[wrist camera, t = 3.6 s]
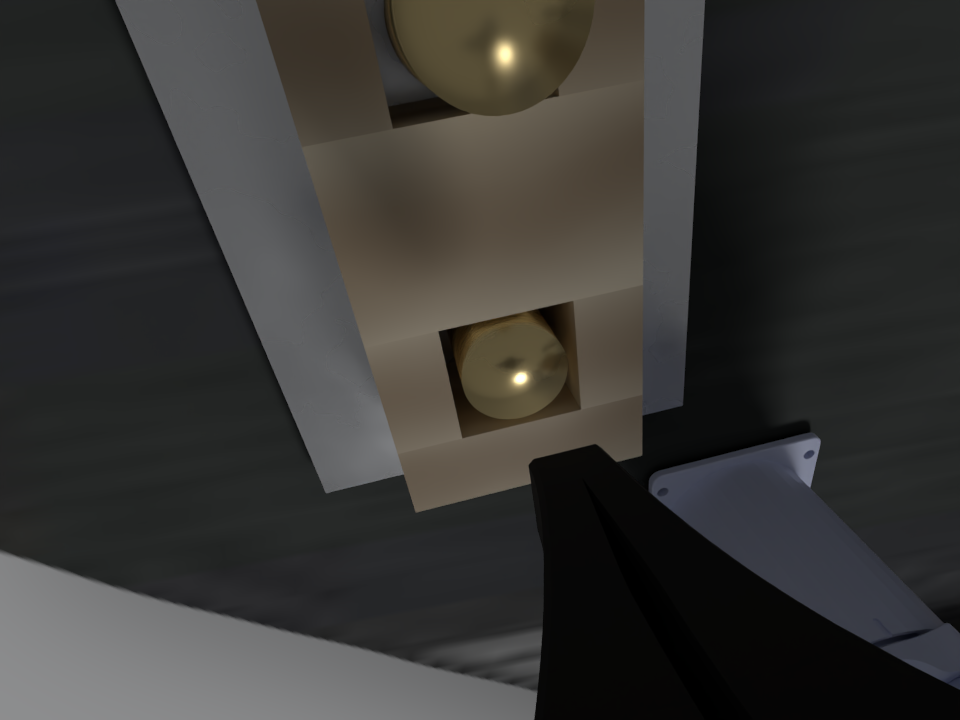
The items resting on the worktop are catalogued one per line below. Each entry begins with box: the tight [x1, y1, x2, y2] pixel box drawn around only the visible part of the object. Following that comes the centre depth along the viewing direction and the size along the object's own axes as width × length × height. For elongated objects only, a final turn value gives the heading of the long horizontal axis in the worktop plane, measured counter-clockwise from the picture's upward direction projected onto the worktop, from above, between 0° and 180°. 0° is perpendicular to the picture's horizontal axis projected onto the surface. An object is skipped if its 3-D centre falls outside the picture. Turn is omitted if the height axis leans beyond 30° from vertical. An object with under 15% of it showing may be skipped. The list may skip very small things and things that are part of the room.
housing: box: [256, 0, 645, 512], centre depth 14 cm, size 16×7×4 cm, turn 9°
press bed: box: [115, 0, 705, 493], centre depth 16 cm, size 20×14×1 cm
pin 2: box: [446, 309, 568, 419], centre depth 16 cm, size 3×3×4 cm
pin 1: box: [384, 0, 595, 116], centre depth 9 cm, size 3×3×4 cm
